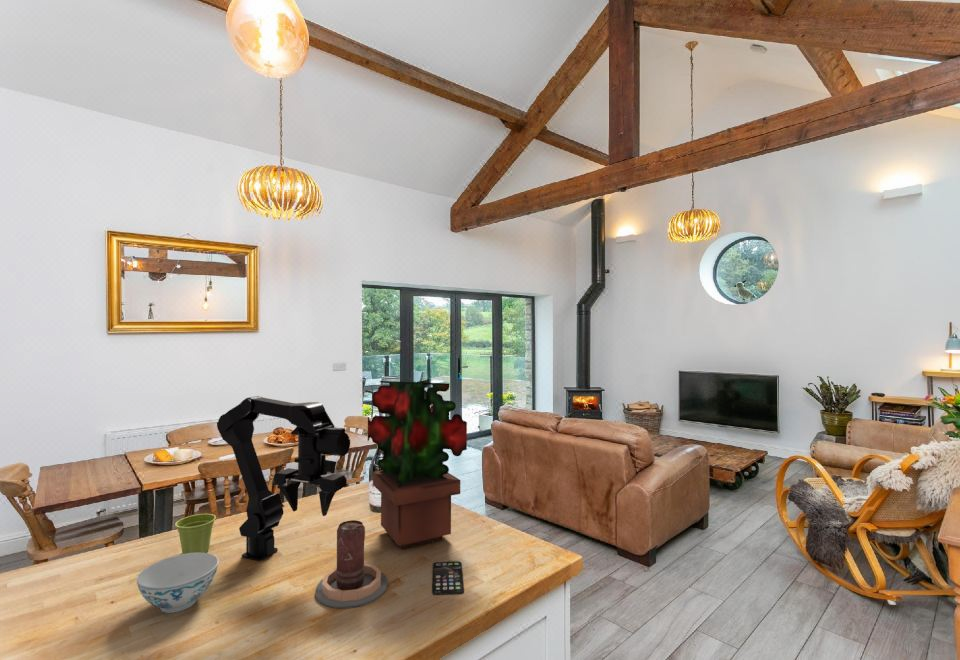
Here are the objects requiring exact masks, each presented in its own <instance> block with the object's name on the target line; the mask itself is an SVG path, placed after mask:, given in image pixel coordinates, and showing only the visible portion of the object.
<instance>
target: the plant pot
mask: <svg viewBox="0 0 960 660" xmlns="http://www.w3.org/2000/svg"><path fill="white" fill-rule="evenodd" d="M216 518H217V517H216V515H215V514H211V513H199V514H198V513H197V514H193V515H189V516H186V517H183V518H180V519H179V520H177V521H176V522H175V524H174V526H175V528H176V529H177V533H178V534H179V540H180V545H181V546H180V547H181V552H182V554H187V553H208V551H209V549H210V545H211V539H212V538H211V536H212V530H213V526H214V523H215V521H216Z"/></svg>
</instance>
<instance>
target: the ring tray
mask: <svg viewBox="0 0 960 660" xmlns="http://www.w3.org/2000/svg"><path fill="white" fill-rule="evenodd" d="M387 588H388V579H387V576H386V575H385V574H384V573H383V572H382V570H381V569H380V568H378V567H377V566H375V564H369V563H365V562H364V582H363V584H362V585H361V587H359V588H358V589H354V590H340V589H339V588H338V587H337V567H335V568H333V569H331V570H329V572H327V573H326V574H324V576H323V579H321V580H320V581H319V583H318V584H317V586H316V588H315V598H316V599H317V601H318V602H319V603H320V604H321V605H323V606H325V607H329V608H333V609H351V608H353V609H355V608H359V607H362V606H366V605H368V604H370V603H373V602H375V601H376V600H378V599H379V598H381V596H382V595H383V594H385V592H386V591H387Z"/></svg>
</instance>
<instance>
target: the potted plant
mask: <svg viewBox="0 0 960 660" xmlns="http://www.w3.org/2000/svg"><path fill="white" fill-rule="evenodd" d="M379 382H380V383H382V384H385V385H379V387H378V389H377V390H376V391H374V392H373V393H372V395H371V404H372V406H374V407H375V408H376V409H377V410H378V412H379V413H380V414H385V415H375V416H373V417H372V418H371V420H370V417H369V416H367V442H369V441H370V439H371V440H372V443H374V444H375V445H376V446H377V448H378V449H379V450H381V451H382V452H383V458H380V459H378V461H377V466H378V468H379V469H381V470H375V471H372V485H373V487H374V488H375V489H376V490H378V492H380V526H381V527H382V528H383V529H384V530H385V532H386V533H387V535H389V537H390V538H391V539H392V540H393V541H394V543H395V544H396V545H397V546H398V547H401V548H402V550H403V549H407V547H408V548H411V546H412V547H416V545H417V546H420V544H421V545H424V543H425V544H428V542H430V543H433V542H432V541H434V542H438V541H442V540H443V537H445V536H448V535H451V534H452V496H456V495H460V494H461V479H459V478H458V477H457V476H454V475H453V474H451V473H449V472H450V469H449V466H448V465H446V464H445V462H447V461H449V458H450V456H449V453H447V451H444V450H450V451H451V453H452V455H453V456H455V457H460V456H461V455H462V453H463V451H466V450H468V449H467V447H468V444H467V443H468V442H467V441H468V436H467V435H468V422H467V421H465V420H463V417H462V415H460V414H459V413H455V414H453V415H452V417H451V419H450V412H452V411H455V409H456V408H457V406H456V403H455V402H454V401H452V400H445V399H444V398H443V396H442V394H441V393H440V394H439V393H438V392H443V393H444V392H447V391H449V389H450V383H447V382H444V383H443V382H430V378H428V379H424V380H418V381H398V380H397V381H391V380H379ZM386 384H388V385H386ZM430 385H431V387H429V386H430ZM425 388H427V390H426V389H425ZM441 539H442V540H441ZM437 540H438V541H437Z"/></svg>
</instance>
